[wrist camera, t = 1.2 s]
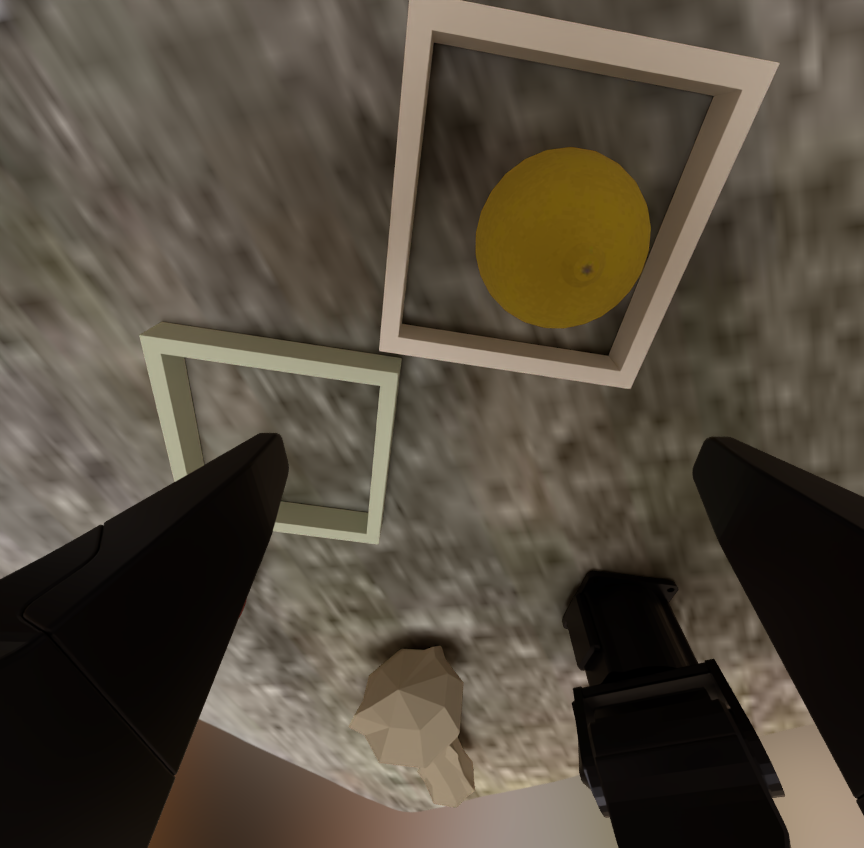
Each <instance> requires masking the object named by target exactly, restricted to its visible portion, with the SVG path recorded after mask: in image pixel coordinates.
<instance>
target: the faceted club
mask: <svg viewBox="0 0 864 848" xmlns="http://www.w3.org/2000/svg"><path fill="white" fill-rule="evenodd" d="M462 696H463V681H462V680H461V679H460V678H459V676H458V675H457V674H456V672H455V671H454V670H453V669H452V667H451V666H450V665H449V663H448V662H447V661H446V659H445V656H444V653H443V649H442V647H441V646H435V647H431V648H429V649H426V650H421V649H400V650H399V651H397V652H396V653H395V654H394V655H393V656H392V657H390V658H389V659H388V660H387V661H386V662H384V663H383V664H382V665H381V666H380V667H379V668H377V669H376V670H375V671H374V672H373V673H371V674H370V675H369V678H368V682H367V686H366V690H365V694H364V699H363V701H362V703H361V705H360V707H359V708H358V710H357V712H356V714H355V715H354V717H353V719H352V721H351V723H350V725H349V727H350V728H351V729H353V730H355V731H357V732H359V733H361V734H363V735H365V737H366V739H367V741H368V743H369V744H370V746H371V748H372V750H373V752H374V754H375V756H376V757H377V759H378V761H379V763H385V764H393V765H401V766H409V767H417V768H419V769H418V773H419V775H420V776H421V777H422V779H423V780H424V782H425V784H426V787H427V789H428V791H429V793H430V796H431V798H432V800H433V803H434V804H438V805H444V806H449V807H454V808H456V807H458V806H459V805H460V804H461V803H462V802H463V801H464V800H465V799H466V798H467V797H468V796H469V795H470V794H471V793H473V792H474V791H475V785H474V774H473V771H474V769H473V762H472V760H471V759H470V758H469V757H468V755H467V754H466V753H465V751H464V750H463V749H462V746H461V744H460V741H459V739H458V735H459V733H460V723H461V710H462Z"/></svg>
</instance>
